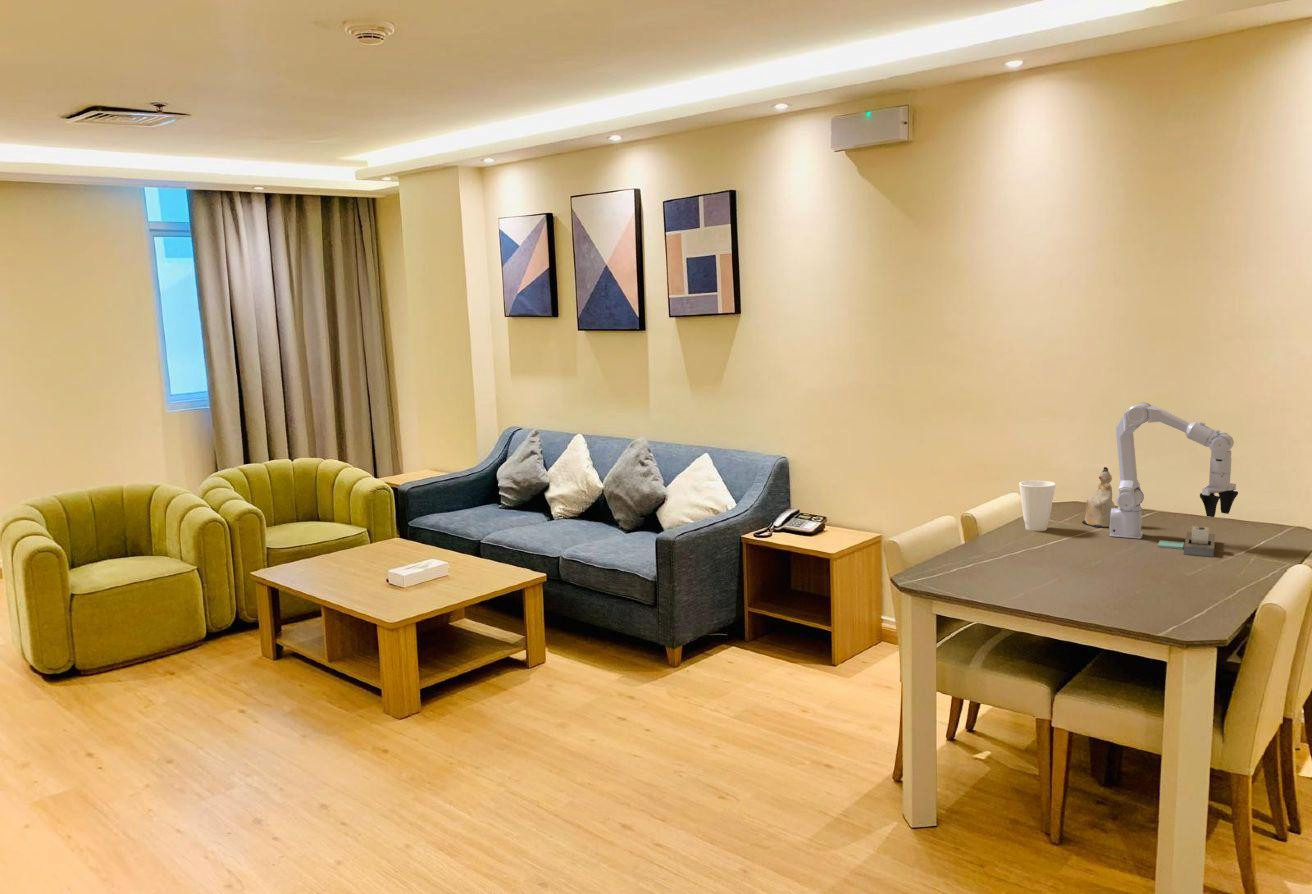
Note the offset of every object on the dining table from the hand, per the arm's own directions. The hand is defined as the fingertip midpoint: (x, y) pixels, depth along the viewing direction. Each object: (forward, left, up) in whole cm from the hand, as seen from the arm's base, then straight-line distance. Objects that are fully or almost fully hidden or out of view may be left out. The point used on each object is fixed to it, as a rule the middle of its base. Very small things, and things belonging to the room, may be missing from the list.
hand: (1217, 514), depth 314 cm
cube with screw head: (-4, -8, -10) cm, 13 cm away
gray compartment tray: (-4, -5, -10) cm, 12 cm away
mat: (-12, -5, -10) cm, 17 cm away
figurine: (-35, +18, -10) cm, 41 cm away
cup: (-54, +3, -10) cm, 56 cm away
